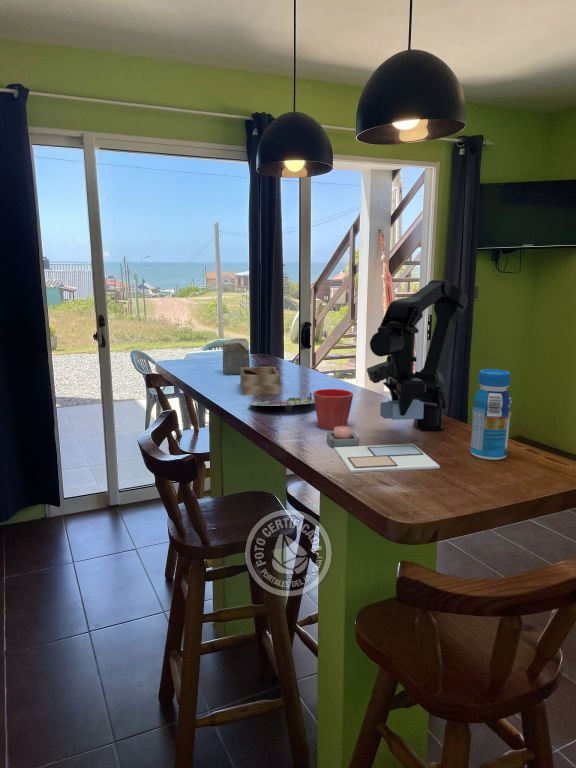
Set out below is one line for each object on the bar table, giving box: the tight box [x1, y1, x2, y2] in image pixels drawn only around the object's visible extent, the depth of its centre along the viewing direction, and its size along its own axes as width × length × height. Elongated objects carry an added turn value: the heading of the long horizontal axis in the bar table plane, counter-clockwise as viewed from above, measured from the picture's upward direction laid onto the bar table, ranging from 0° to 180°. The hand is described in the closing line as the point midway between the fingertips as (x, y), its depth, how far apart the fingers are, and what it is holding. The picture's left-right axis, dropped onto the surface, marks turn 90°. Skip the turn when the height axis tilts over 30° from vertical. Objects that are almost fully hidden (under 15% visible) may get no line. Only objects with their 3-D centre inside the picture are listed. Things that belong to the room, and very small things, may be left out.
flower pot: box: [313, 388, 354, 431], centre depth 150 cm, size 11×11×10 cm
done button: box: [333, 425, 353, 439], centre depth 135 cm, size 4×4×3 cm
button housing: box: [326, 431, 360, 449], centre depth 135 cm, size 7×7×2 cm
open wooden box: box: [239, 366, 281, 396], centre depth 198 cm, size 13×17×7 cm
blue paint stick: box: [379, 399, 424, 421], centre depth 137 cm, size 10×4×4 cm, turn 98°
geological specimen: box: [222, 337, 251, 376], centre depth 228 cm, size 11×6×15 cm, turn 105°
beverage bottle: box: [469, 368, 513, 461], centre depth 125 cm, size 8×8×20 cm
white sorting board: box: [333, 443, 441, 474], centre depth 125 cm, size 20×16×1 cm
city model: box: [248, 392, 315, 413], centre depth 173 cm, size 25×23×6 cm
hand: (399, 413), depth 137 cm, fingers closed on blue paint stick, 4 cm apart
